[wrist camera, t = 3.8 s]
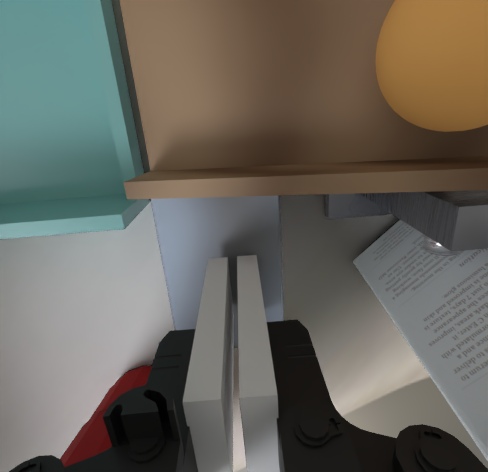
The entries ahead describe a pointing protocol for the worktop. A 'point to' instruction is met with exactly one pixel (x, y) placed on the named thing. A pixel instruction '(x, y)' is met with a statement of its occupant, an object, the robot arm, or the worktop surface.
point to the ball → (436, 63)
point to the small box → (438, 316)
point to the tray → (64, 120)
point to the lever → (268, 129)
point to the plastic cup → (94, 431)
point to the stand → (425, 215)
